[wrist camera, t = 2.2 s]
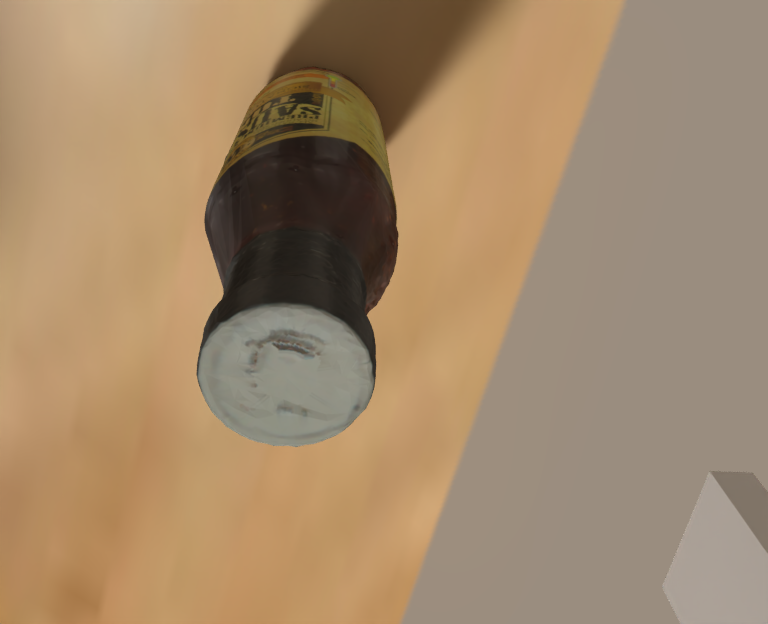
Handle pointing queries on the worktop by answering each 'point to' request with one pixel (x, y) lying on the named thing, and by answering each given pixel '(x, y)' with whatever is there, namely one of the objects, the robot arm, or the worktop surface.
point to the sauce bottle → (298, 261)
